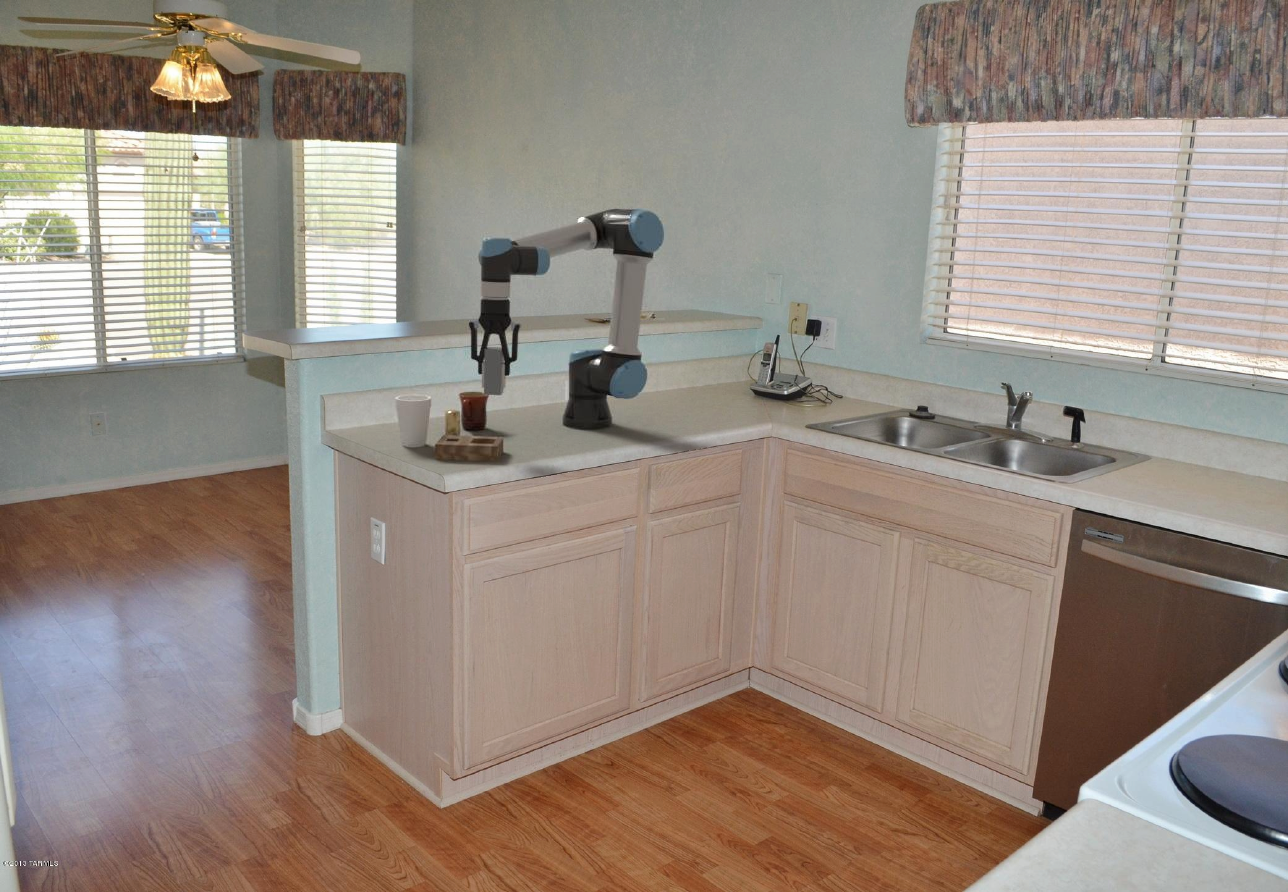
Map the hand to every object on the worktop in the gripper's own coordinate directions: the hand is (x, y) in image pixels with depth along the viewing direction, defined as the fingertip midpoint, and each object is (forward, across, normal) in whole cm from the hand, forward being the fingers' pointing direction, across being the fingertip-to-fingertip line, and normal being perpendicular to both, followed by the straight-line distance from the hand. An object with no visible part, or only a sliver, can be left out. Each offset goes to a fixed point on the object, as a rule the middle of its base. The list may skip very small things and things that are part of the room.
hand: (493, 387), depth 273 cm
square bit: (+2, 0, 0) cm, 2 cm away
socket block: (+18, +5, +4) cm, 19 cm away
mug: (+18, +10, -27) cm, 34 cm away
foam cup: (+18, +22, -5) cm, 29 cm away
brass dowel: (+18, +12, -8) cm, 23 cm away
